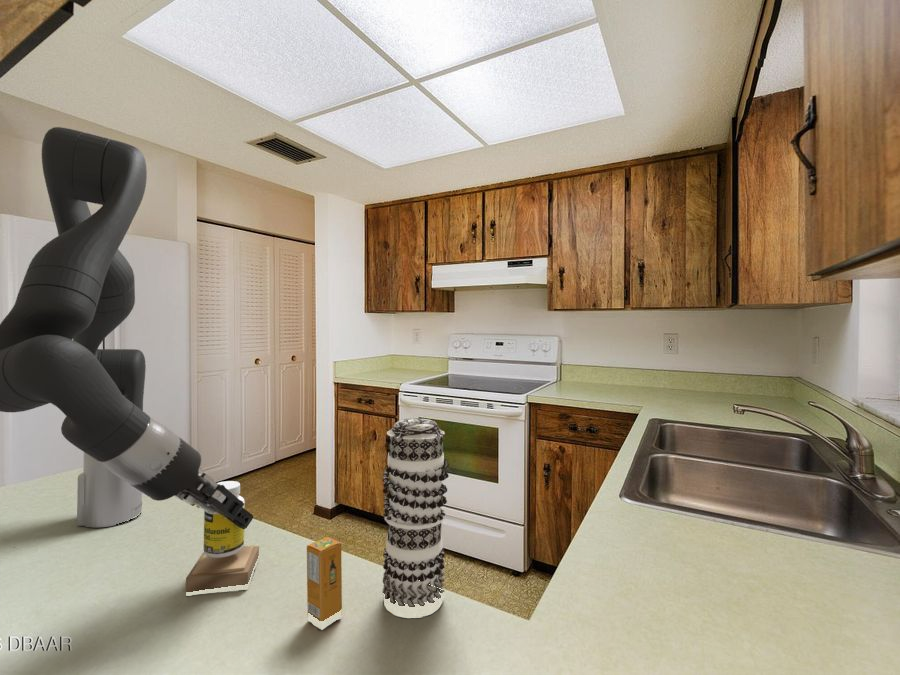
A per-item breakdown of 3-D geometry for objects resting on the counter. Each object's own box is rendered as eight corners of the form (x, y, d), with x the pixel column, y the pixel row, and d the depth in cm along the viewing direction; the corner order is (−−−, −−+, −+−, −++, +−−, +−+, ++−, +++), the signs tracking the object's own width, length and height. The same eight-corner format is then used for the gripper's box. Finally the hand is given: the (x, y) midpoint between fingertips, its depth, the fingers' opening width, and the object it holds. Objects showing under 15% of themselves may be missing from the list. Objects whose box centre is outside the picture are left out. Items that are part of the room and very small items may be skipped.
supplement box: (326, 608, 59) (328, 534, 59) (342, 619, 57) (344, 542, 57) (304, 620, 56) (306, 543, 56) (320, 632, 54) (321, 552, 54)
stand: (185, 596, 61) (186, 575, 61) (204, 567, 69) (204, 547, 69) (247, 590, 63) (247, 569, 63) (258, 561, 70) (259, 543, 70)
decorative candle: (454, 614, 58) (458, 426, 58) (384, 626, 55) (388, 429, 55) (437, 577, 67) (440, 414, 67) (376, 586, 64) (379, 416, 64)
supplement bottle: (194, 557, 63) (196, 489, 63) (220, 540, 69) (221, 477, 69) (228, 561, 62) (229, 492, 62) (251, 543, 68) (253, 480, 68)
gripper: (203, 441, 55) (281, 505, 66) (148, 426, 63) (226, 486, 73) (156, 495, 51) (248, 555, 61) (103, 472, 58) (193, 529, 69)
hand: (236, 517), depth 67 cm, fingers closed on supplement bottle, 5 cm apart
